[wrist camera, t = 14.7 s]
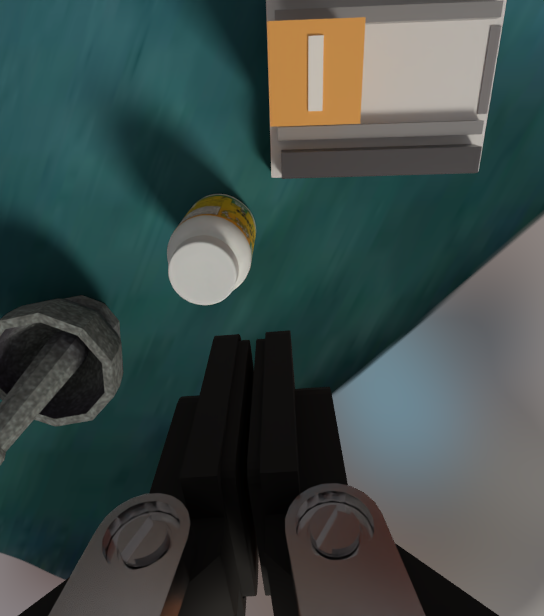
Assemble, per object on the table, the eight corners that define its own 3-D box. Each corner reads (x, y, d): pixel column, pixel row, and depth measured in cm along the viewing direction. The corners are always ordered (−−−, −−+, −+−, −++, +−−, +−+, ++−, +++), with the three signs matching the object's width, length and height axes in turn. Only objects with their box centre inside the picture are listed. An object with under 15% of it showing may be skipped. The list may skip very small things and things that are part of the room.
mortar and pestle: (66, 252, 36) (-28, 323, 25) (162, 322, 38) (116, 414, 27) (1, 343, 39) (-104, 439, 29) (93, 401, 42) (28, 508, 31)
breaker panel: (265, -31, 27) (263, -47, 24) (499, -41, 27) (529, -59, 24) (272, 172, 32) (270, 182, 29) (467, 167, 32) (488, 175, 29)
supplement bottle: (177, 201, 34) (141, 239, 25) (247, 185, 33) (234, 219, 24) (198, 267, 36) (172, 323, 27) (263, 253, 35) (258, 305, 27)
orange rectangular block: (270, 37, 27) (266, 20, 20) (345, 34, 27) (366, 16, 20) (272, 118, 29) (270, 126, 22) (343, 116, 29) (360, 123, 22)
